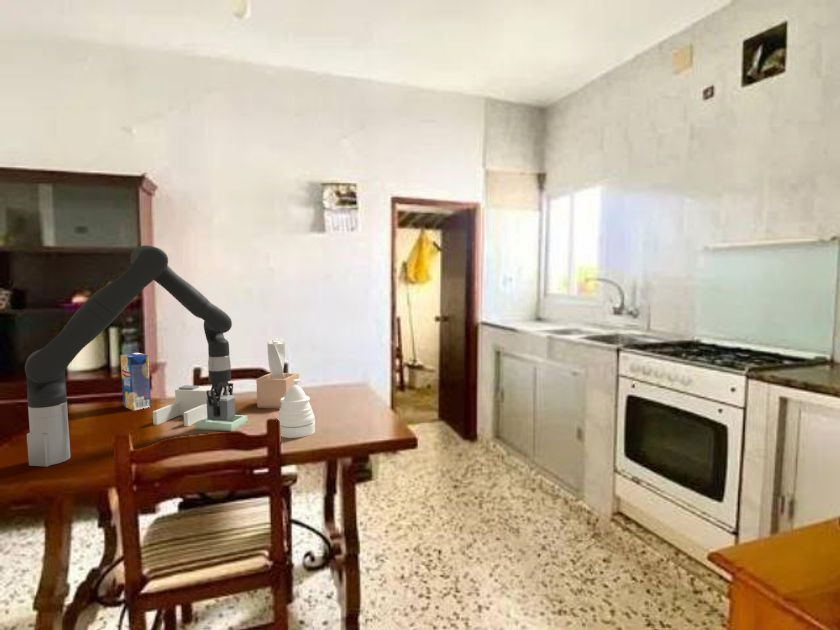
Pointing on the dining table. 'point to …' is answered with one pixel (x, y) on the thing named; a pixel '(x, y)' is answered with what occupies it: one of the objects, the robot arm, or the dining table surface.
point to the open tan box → (273, 390)
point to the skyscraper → (276, 358)
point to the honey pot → (296, 413)
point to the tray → (221, 423)
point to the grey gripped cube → (223, 409)
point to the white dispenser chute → (185, 405)
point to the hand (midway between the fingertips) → (221, 414)
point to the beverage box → (135, 381)
